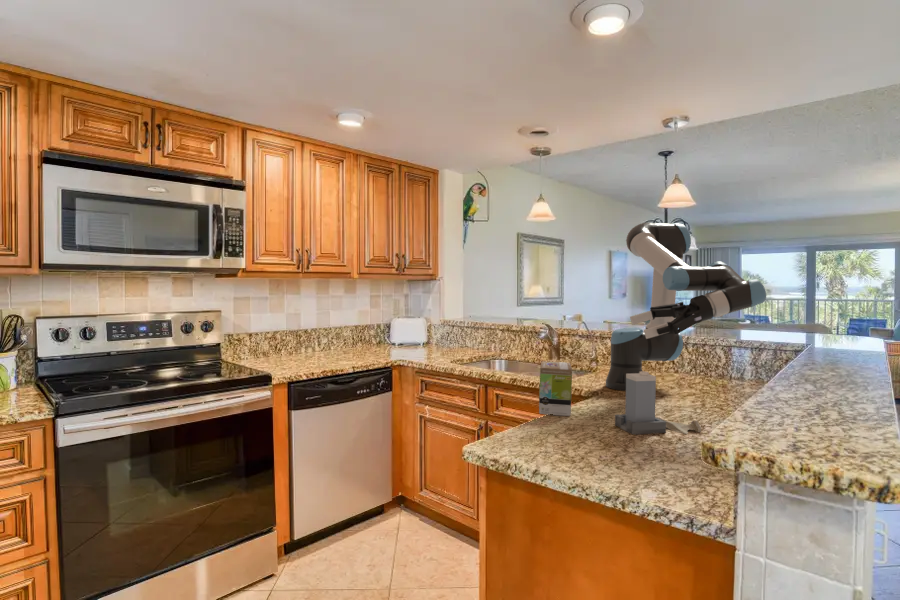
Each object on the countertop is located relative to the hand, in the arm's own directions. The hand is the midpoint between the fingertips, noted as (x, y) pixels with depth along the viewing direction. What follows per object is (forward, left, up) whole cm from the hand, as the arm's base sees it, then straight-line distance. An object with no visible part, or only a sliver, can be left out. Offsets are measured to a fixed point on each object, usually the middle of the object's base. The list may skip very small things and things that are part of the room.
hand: (637, 327), depth 149 cm
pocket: (+12, -6, -27) cm, 31 cm away
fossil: (+14, +4, -28) cm, 32 cm away
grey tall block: (+12, -6, -26) cm, 30 cm away
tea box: (-12, -21, -28) cm, 37 cm away
